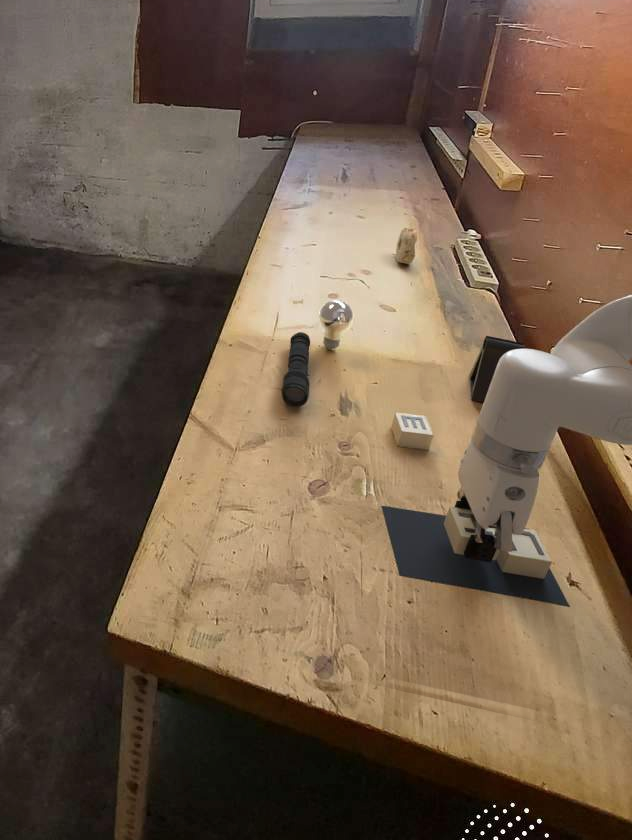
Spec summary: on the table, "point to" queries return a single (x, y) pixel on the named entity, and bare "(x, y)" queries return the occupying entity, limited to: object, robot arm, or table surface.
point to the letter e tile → (412, 431)
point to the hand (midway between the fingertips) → (469, 539)
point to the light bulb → (335, 321)
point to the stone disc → (406, 245)
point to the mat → (456, 560)
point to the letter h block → (462, 529)
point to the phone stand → (488, 365)
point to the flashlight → (297, 371)
